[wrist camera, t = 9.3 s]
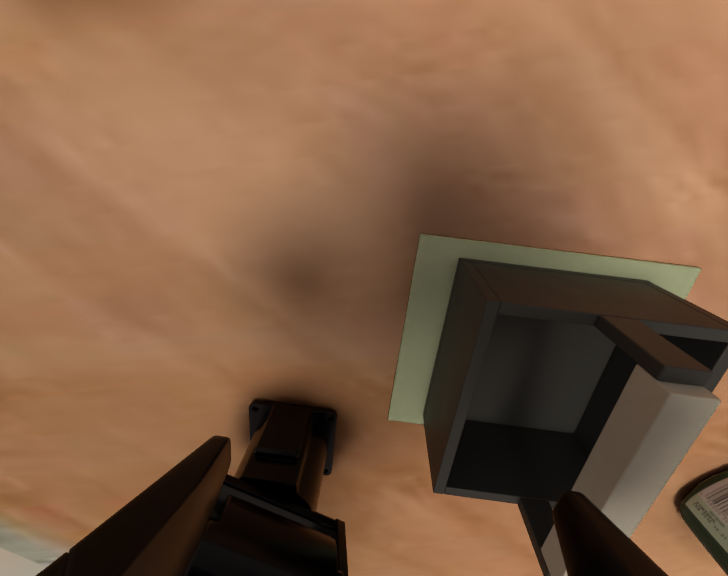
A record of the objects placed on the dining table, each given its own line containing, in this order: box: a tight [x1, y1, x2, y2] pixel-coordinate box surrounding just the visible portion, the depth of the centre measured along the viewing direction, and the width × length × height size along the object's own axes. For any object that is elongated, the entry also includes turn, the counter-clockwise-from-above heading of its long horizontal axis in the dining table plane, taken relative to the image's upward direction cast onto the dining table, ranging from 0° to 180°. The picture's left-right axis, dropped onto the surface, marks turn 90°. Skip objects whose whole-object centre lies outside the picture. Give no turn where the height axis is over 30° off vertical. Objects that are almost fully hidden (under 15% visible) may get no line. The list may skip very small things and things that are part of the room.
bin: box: [423, 258, 728, 576], centre depth 17 cm, size 12×11×10 cm
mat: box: [388, 234, 701, 425], centre depth 22 cm, size 14×16×1 cm
